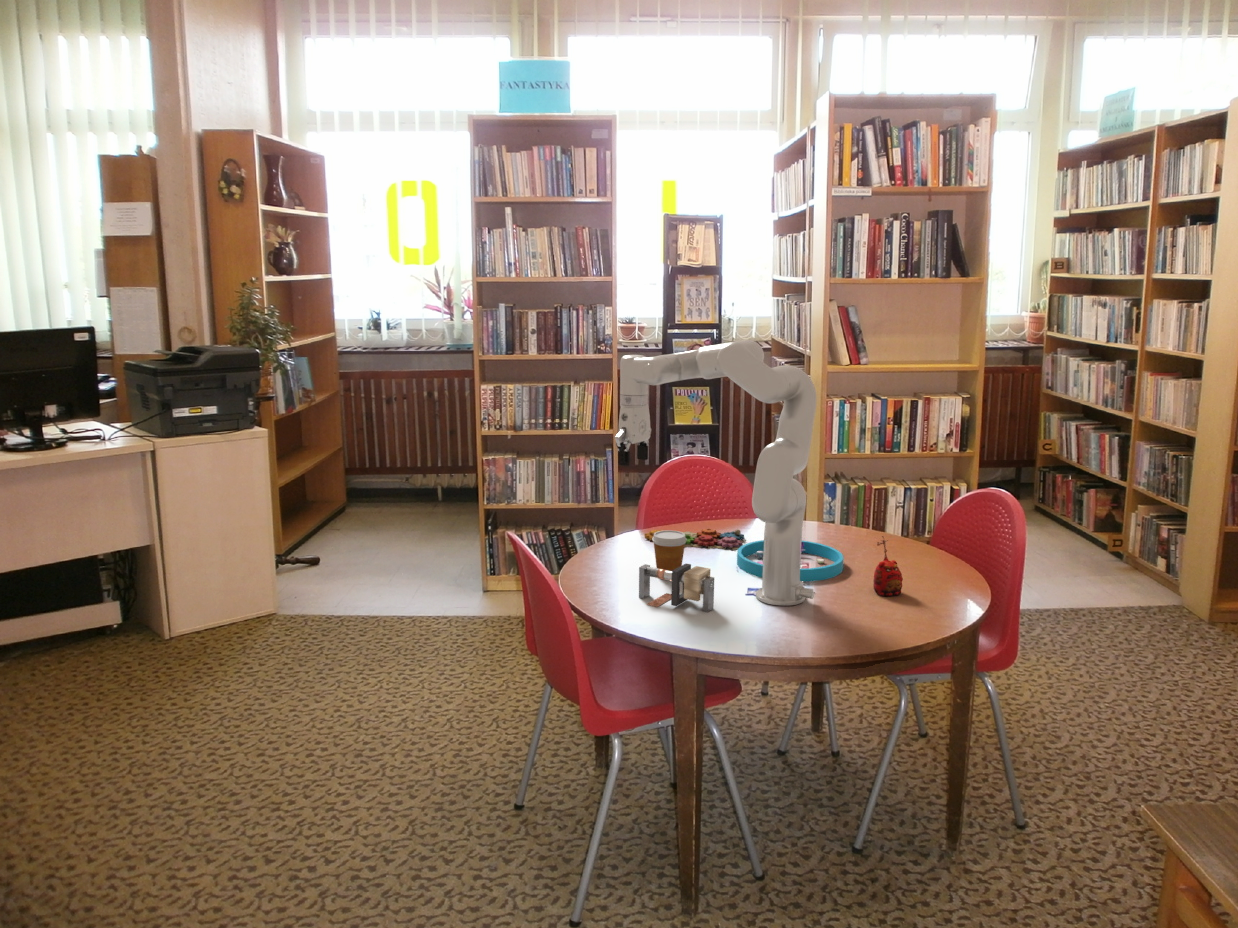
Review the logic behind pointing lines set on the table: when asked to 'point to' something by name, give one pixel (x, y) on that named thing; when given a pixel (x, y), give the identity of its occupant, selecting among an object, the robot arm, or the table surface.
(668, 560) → the disposable coffee cup
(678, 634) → the table surface
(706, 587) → the grey long flanged piece
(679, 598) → the dark grey u-shaped piece
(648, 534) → the gear puzzle
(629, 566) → the table surface
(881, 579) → the red clay folk toy
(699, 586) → the sleeve
